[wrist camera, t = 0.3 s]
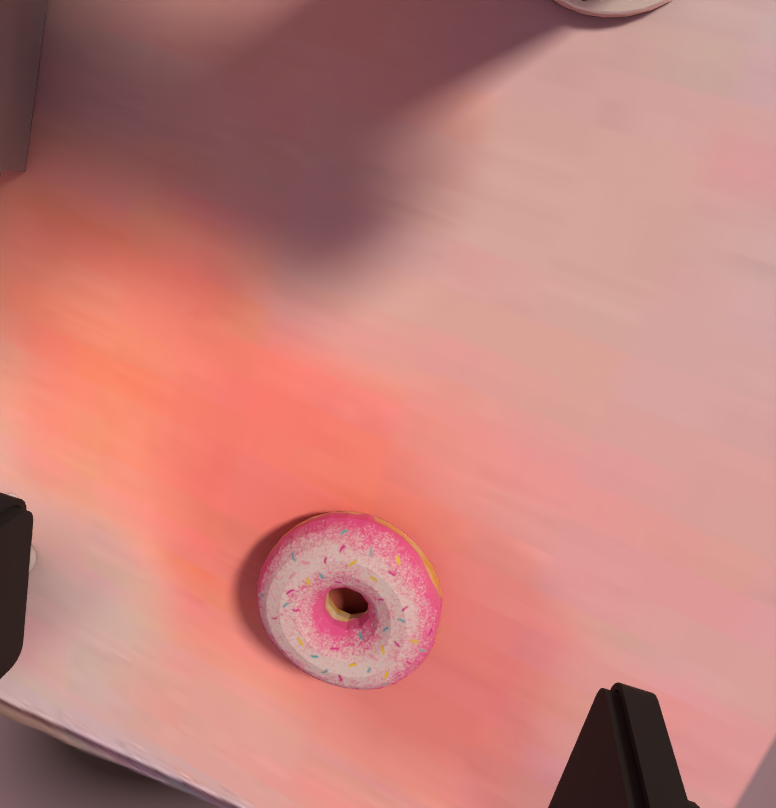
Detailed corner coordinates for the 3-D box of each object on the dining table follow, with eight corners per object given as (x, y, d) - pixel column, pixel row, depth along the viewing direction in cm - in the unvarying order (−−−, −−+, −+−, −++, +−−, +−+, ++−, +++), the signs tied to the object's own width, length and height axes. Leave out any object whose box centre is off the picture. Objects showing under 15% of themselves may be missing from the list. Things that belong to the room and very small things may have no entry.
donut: (309, 468, 51) (289, 498, 46) (477, 549, 50) (474, 587, 46) (246, 610, 55) (222, 650, 50) (400, 684, 55) (390, 732, 50)
